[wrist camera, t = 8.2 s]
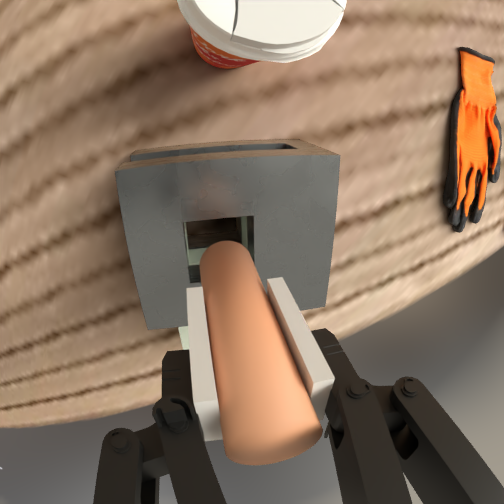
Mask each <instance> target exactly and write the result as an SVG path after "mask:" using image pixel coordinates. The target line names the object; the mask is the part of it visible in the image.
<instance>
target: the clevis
mask: <svg viewBox="0 0 504 504" xmlns="http://www.w3.org/2000/svg"><path fill="white" fill-rule="evenodd" d="M130 156H131V162H125V163H122V164H121V165H120V166H119V167H118V168H117V169H116V170H115V175H116V182H117V189H118V196H119V202H120V208H121V214H122V220H123V225H124V230H125V236H126V241H127V246H128V251H129V255H130V260H131V264H132V269H133V273H134V278H135V282H136V286H137V290H138V294H139V298H140V302H141V306H142V310H143V313H144V317H145V321H146V324H147V328H148V330H152V329H163V328H173V327H183V326H188V314H187V288H194V287H202V285H201V275H200V264H199V265H190V266H189V260H188V252H187V244H186V236H185V227H184V222H185V224H186V233H187V241H188V250H189V249H199V248H208V247H210V246H211V245H213V244H215V243H217V242H220V241H234V242H237V243H240V244H242V229H241V216H247V239H248V251H249V253H250V255H251V258H252V260H253V262H254V265H255V267H256V270H257V272H258V275H259V277H260V279H261V282H262V284H263V287H264V289H265V291H266V294H267V279H271V278H279V277H283V279H284V281H285V283H286V285H287V287H288V289H289V291H290V292H291V294H292V296H293V298H294V300H295V302H296V304H297V306H298V308H299V310H300V311H302V310H308V309H313V308H319V307H325V304H326V297H327V289H328V282H329V274H330V266H331V258H332V249H333V240H334V230H335V219H336V208H337V196H338V182H339V167H340V155H338V154H336V153H333V152H331V151H328V150H326V149H323V148H321V147H318V146H316V145H313V144H310V143H308V142H305V141H302V140H300V139H276V140H246V141H227V142H212V143H199V144H188V145H178V146H169V147H160V148H152V149H144V150H137V151H135V152H134V153H133V154H132V155H130ZM230 217H236V223H237V231H230V232H220V233H210V234H201V235H191V236H188V232H187V222H189V221H199V220H209V219H219V218H230Z"/></svg>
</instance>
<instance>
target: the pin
mask: <svg viewBox="0 0 504 504" xmlns="http://www.w3.org/2000/svg"><path fill="white" fill-rule="evenodd" d="M200 275H201V285H202V287H203V296H204V303H205V312H206V320H207V328H208V336H209V343H210V351H211V358H212V365H213V372H214V378H215V385H216V392H217V398H218V404H219V410H220V425H221V431H222V437H223V442H224V448H225V453H226V456H227V457H228V458H229V459H230V460H232V461H234V462H236V463H240V464H245V465H265V464H271V463H276V462H280V461H284V460H287V459H290V458H292V457H295V456H297V455H299V454H301V453H303V452H305V451H306V450H307V449H309V448H311V447H312V446H313V445H314V444H316V442H317V441H318V440H319V439H320V437H321V436H322V432H323V429H322V426H321V424H320V422H319V419H318V417H317V414H316V412H315V410H314V407H313V405H312V402H311V400H310V398H309V395H308V393H307V390H306V388H305V386H304V383H303V381H302V378H301V376H300V374H299V371H298V369H297V366H296V364H295V362H294V359H293V357H292V354H291V352H290V349H289V347H288V345H287V342H286V340H285V337H284V335H283V333H282V330H281V328H280V325H279V323H278V321H277V318H276V316H275V313H274V311H273V308H272V306H271V304H270V301H269V299H268V296H267V294H266V291H265V289H264V287H263V284H262V282H261V279H260V277H259V275H258V272H257V270H256V267H255V265H254V262H253V260H252V258H251V255H250V253H249V251H248V250H247V249H246V248H245V247H244V246H243V245H241V244H240V243H237V242H234V241H220V242H217V243H215V244H213V245H211V246H210V247H208V248H207V249H206V250H205V252H204V253H203V255H202V257H201V259H200Z"/></svg>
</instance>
